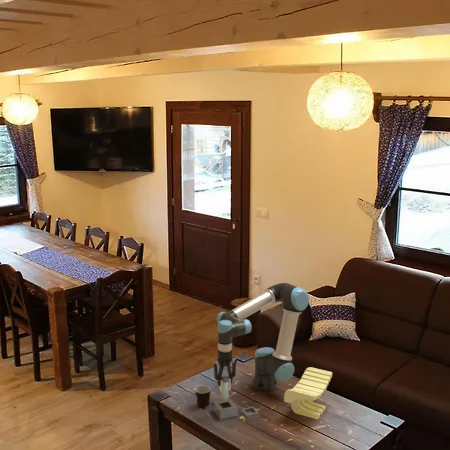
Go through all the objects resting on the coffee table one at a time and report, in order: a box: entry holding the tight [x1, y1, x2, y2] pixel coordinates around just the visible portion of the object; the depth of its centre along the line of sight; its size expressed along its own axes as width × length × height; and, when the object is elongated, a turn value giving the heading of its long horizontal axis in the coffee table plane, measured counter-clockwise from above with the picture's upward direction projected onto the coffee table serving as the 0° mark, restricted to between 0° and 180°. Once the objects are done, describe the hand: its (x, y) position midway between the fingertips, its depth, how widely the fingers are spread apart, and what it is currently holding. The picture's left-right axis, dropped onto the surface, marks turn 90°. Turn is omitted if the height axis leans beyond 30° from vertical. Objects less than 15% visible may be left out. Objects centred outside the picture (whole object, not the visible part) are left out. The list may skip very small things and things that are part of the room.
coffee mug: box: [194, 385, 211, 410], centre depth 317 cm, size 12×9×10 cm
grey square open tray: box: [240, 406, 261, 420], centre depth 306 cm, size 8×8×3 cm
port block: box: [212, 398, 239, 421], centre depth 307 cm, size 10×10×6 cm
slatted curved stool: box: [283, 366, 333, 420], centre depth 310 cm, size 30×16×18 cm, turn 150°
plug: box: [220, 375, 230, 401], centre depth 304 cm, size 4×4×12 cm
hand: (224, 390), depth 304 cm, fingers closed on plug, 4 cm apart
